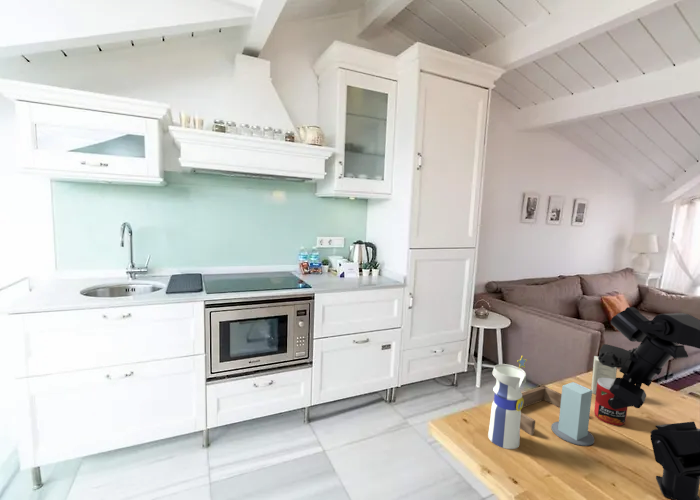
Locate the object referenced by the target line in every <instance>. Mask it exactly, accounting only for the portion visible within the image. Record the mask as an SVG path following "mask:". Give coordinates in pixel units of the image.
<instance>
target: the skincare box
mask: <svg viewBox="0 0 700 500" xmlns="http://www.w3.org/2000/svg"><path fill="white" fill-rule="evenodd" d="M598 357H599V355H598V356H596V355H594V356H593V366H592V378H591V389H590V390H592V395H596V389H597V381H598V379H599V378H611V379H616V378H617V373H618V372H617V371H618V370H617V369H618V368H617V367H614V368H612V367H608V366H605V365H603V364H602V363H600V362H599V359H598Z"/></svg>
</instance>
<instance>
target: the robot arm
mask: <svg viewBox="0 0 700 500" xmlns="http://www.w3.org/2000/svg"><path fill="white" fill-rule="evenodd" d="M610 324H611V326H613V328H615V329H616V330H617V331H618V332H620V333H621V334H622V335H623V336H624V337H625V338H626V339H628V341H630V342H638V343H640V344H639V345H638V346H637V347H635V348H634V347H633V348H632V349H625V348H623V347H622V348H621V347H618V346H616V345H615V346H614V345H611V344H608V343H607V344H606V343H605V344H603V345H602V346H601V347H600V349H599V355H598V359H599V362H600V363H602V364H603V365H605V366H608V367H612V368H614V367H617V369H618V368H619V371H618V372H620V373H621V374H623V375H622V377H616V379H615V380H614V381H613V383H612V385H611V387H610V389H609V391H610V392H611V393H612V394H614V397H613V400H612V403H611V406H610V407H611V408H613V409H620V408H625V407H627V408H629V407H634V408H635V409H640V408H641V407H642V406H643V405H644V403H645V401H646V398H647V393H646V391H645V390H644V389H643V388H641V387H642V385H643V384H644V385H645V386H647V387H650V385H651V384H652V381H653V379H654V378H655V377H656V375H657V376H659V375H661V373H662V369H663V367H664V366H665V365H666V364H667V363H668V361H669V360H670V359H671V358H673V359H684V358H686V359H687V358H689V354H688V352H687V351H686V349H685V346H687V347H693V348H696V349H700V319H698V318H696V317H695V316H693V315H691V314H688V313H684V312H681V313H680V312H679V313H678V312H676V313H660V314H659V313H658V314H657V315H655V316H654V317H653V319H651V320H650V319H649V318H647V317H646V316H644V315H643V314H642V313H641V312H640V311H639V310H638V309H637V308H636V307H634V306H627V307H626V308H625V309H624V310H622V311H620V312H618V313H616V315H613V317H611V319H610ZM650 443H651V447H652V451H653V455H654V460H655V462H656V463H657V464H659V465H660V466H661V467H662V469H663V470H662V476H660V475H656V476H655V479H656V481H657V484H658V487H659V489H660V491H661V494H662V496H664V497H665V498H669V499H671V500H700V496H699V491H700V428H697V426H696V423H695V421H686V422H685V421H684V422H677V423H675V422H674V423H668V424H665V423H664V424H658V425H657V424H656V425H655V429H652V430H651V431H650Z"/></svg>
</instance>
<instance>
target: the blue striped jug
mask: <svg viewBox="0 0 700 500" xmlns="http://www.w3.org/2000/svg"><path fill="white" fill-rule="evenodd" d="M527 361H528V359H526V358H524V356H523V355H521V357H520V359H518V360H516V362H517V363H518V364H519V366H515V365H512V364H509V363H506V364H505V363H498V364H496V365H494V366H493V370H492V372H491V374H492V375H493V377H494V378H495V379H496V383H495V385H494V386H493V389H492V390H493V392H494V397H493V401H492V403H491V407H490V409H491V410H490V416H489V417H490V418H489V419H490V420H489V427H488V433H487V437H488V439H489V441H490V442H491V443H492V444H494V445H495V446H497V447H499V448H502V449H506V450H516V449H518V448H519V446H520V440H521V439H520V436H521V433H520V432H521V429H520V420H521V412H522V411H521V410H522V409H523V408H524V407H523V403H524V400H523V398H522V393H523V392H522V391H521V385H522V383H523V385H525V384H526V382H527V373H526V371H524V369H522V368H526V362H527ZM522 407H523V408H522Z"/></svg>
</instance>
